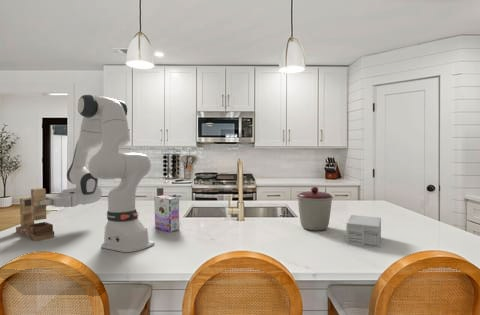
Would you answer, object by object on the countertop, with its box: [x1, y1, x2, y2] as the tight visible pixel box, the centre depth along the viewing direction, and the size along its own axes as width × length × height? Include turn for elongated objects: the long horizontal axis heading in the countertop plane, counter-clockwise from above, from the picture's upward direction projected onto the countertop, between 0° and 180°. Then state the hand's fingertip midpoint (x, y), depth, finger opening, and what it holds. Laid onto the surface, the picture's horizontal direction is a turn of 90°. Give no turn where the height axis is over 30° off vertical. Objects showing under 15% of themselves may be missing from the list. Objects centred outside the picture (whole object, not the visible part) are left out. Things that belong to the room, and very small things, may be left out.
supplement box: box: [346, 214, 382, 249], centre depth 137 cm, size 17×13×9 cm
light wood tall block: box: [30, 187, 47, 222], centre depth 145 cm, size 5×4×14 cm
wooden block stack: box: [15, 196, 55, 242], centre depth 149 cm, size 24×8×16 cm, turn 52°
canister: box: [296, 186, 334, 232], centre depth 158 cm, size 18×18×21 cm
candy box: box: [154, 194, 180, 233], centre depth 157 cm, size 14×6×16 cm, turn 47°
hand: (36, 202), depth 144 cm, fingers closed on light wood tall block, 4 cm apart
